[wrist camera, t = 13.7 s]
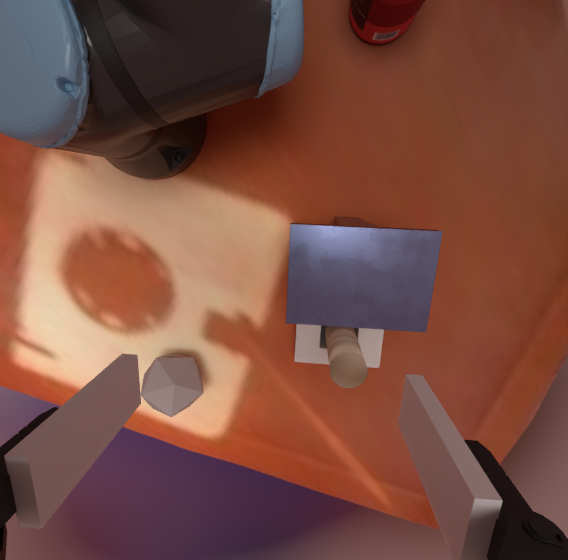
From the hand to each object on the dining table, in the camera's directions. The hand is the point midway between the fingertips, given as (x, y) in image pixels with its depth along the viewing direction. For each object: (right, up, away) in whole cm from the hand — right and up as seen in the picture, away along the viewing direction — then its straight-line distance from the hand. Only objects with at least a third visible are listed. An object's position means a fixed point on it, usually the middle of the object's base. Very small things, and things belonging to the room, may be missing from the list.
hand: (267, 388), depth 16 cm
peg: (+9, -1, +33) cm, 34 cm away
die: (-16, -9, +38) cm, 42 cm away
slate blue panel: (+9, +9, +31) cm, 33 cm away
